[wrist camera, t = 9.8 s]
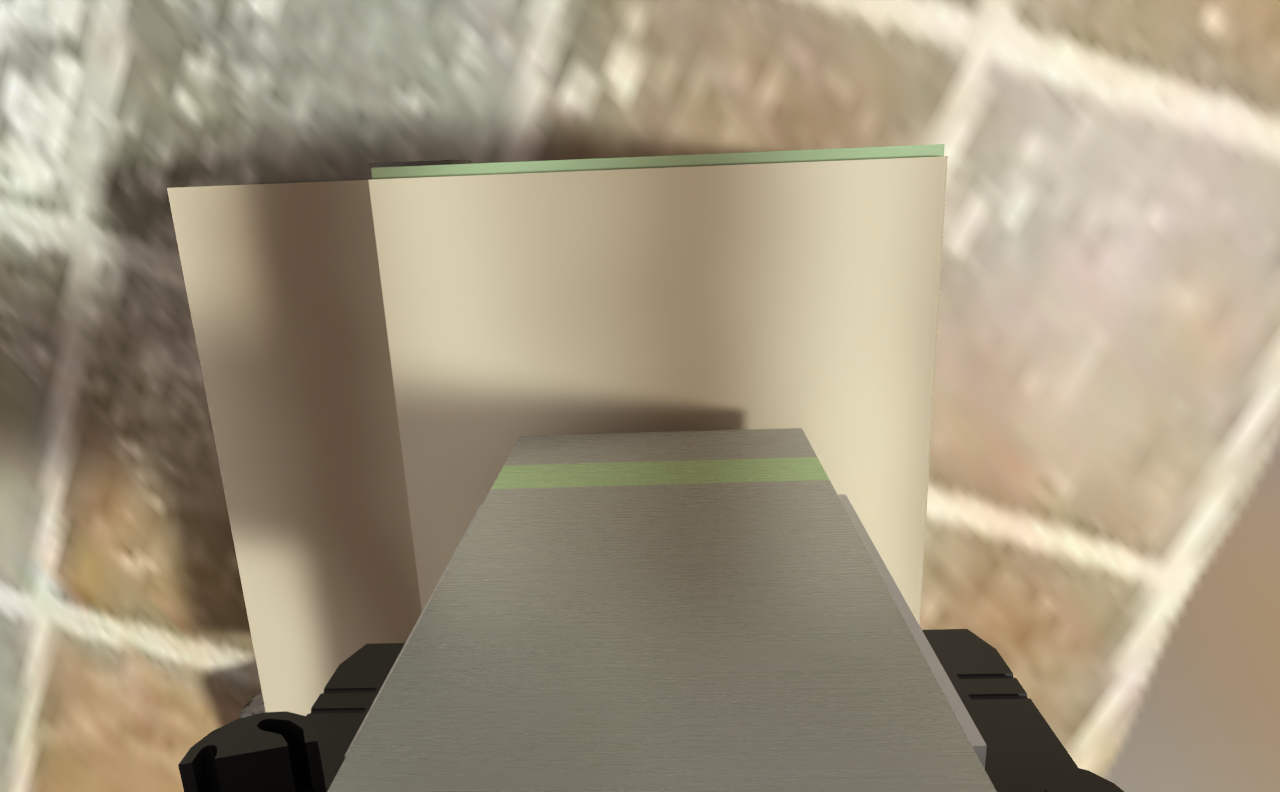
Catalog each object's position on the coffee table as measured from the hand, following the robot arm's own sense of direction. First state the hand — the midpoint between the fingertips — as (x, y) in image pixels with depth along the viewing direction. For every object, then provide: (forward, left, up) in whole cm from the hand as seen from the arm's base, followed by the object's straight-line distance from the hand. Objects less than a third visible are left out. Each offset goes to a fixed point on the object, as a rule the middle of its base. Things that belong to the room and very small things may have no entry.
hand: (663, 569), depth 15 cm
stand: (-2, 0, -9) cm, 10 cm away
